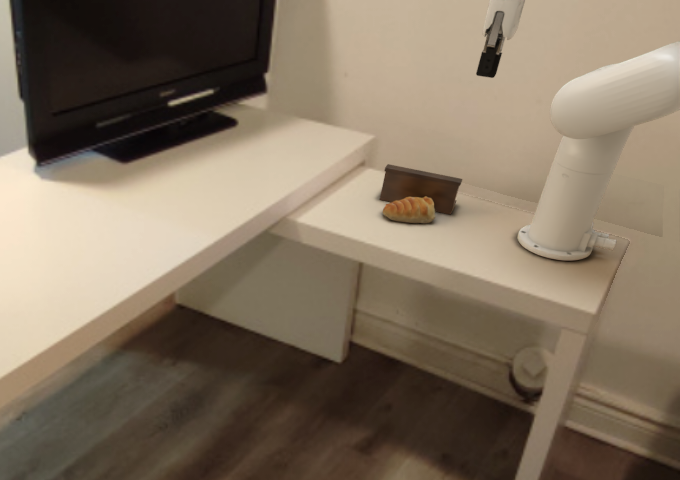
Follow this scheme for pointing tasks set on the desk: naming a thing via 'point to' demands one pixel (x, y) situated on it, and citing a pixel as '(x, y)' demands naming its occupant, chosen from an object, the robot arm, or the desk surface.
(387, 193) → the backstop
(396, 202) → the pastry
